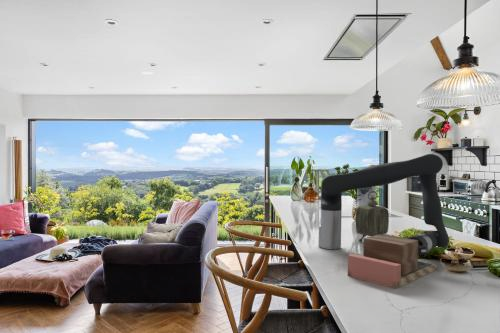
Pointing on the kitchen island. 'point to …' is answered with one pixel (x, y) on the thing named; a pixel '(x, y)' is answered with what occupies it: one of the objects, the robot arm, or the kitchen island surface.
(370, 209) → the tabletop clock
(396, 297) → the kitchen island surface
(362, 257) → the roller track
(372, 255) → the brown cardboard box
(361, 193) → the juice carton
